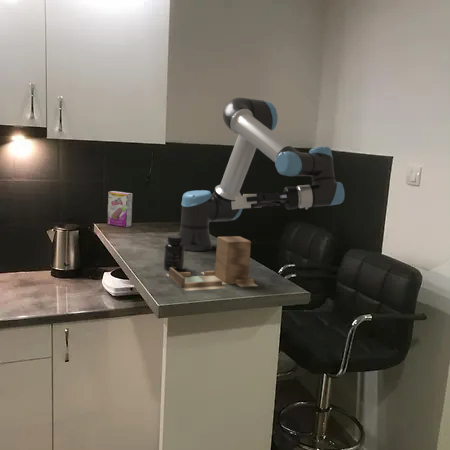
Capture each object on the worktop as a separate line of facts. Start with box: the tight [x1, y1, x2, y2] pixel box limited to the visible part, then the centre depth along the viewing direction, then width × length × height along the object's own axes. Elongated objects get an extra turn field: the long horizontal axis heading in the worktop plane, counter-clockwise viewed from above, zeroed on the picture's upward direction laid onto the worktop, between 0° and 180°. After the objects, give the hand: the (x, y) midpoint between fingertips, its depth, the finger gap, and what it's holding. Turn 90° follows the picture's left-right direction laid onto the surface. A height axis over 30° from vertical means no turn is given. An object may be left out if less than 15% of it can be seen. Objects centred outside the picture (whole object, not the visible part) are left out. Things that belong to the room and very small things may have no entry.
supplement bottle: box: [163, 234, 186, 272], centre depth 167 cm, size 7×7×12 cm
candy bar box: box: [106, 190, 134, 228], centre depth 242 cm, size 11×5×16 cm, turn 69°
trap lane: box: [165, 267, 259, 294], centre depth 157 cm, size 24×18×4 cm
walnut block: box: [214, 235, 252, 283], centre depth 159 cm, size 8×8×13 cm
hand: (233, 203), depth 163 cm, fingers open, 13 cm apart
